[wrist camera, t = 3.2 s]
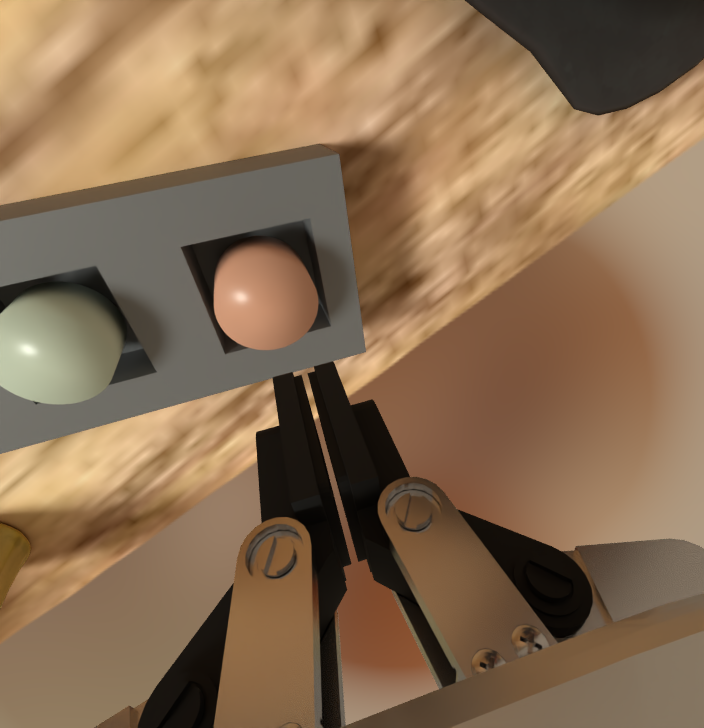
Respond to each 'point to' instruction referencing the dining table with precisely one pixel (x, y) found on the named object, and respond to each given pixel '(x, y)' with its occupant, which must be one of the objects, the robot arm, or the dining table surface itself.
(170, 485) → the dining table surface
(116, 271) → the button panel
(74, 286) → the sage button
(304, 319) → the terracotta button
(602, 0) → the casserole
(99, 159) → the dining table surface
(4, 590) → the vase
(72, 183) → the dining table surface
